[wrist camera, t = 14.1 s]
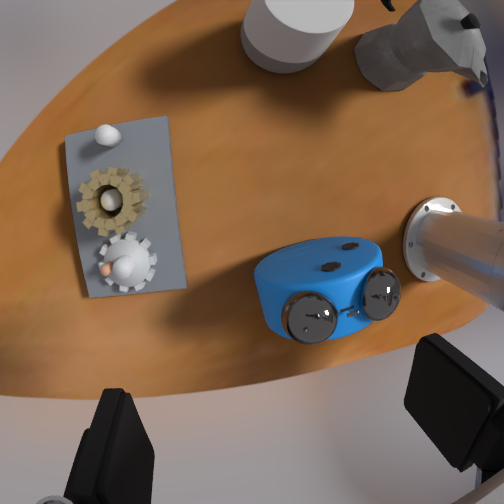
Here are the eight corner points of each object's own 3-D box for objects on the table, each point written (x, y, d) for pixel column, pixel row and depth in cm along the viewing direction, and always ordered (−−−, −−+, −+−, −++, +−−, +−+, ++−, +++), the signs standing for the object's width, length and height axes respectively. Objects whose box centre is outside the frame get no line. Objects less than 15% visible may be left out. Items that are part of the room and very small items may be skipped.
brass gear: (145, 163, 31) (135, 162, 26) (152, 222, 32) (143, 231, 28) (90, 173, 30) (73, 174, 25) (98, 230, 32) (82, 240, 27)
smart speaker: (248, 85, 32) (275, 38, 19) (228, 20, 29) (243, -46, 16) (323, 73, 33) (382, 33, 19) (302, 12, 30) (345, -46, 17)
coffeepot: (427, 90, 35) (523, 70, 18) (386, 117, 35) (490, 98, 18) (367, 2, 30) (442, -56, 13) (319, 20, 31) (389, -52, 13)
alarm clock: (256, 301, 39) (285, 372, 24) (244, 254, 37) (270, 307, 23) (352, 272, 40) (419, 321, 25) (346, 226, 38) (418, 258, 24)
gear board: (169, 118, 32) (162, 109, 26) (187, 282, 37) (185, 300, 31) (71, 137, 30) (51, 132, 25) (94, 291, 35) (79, 310, 30)
